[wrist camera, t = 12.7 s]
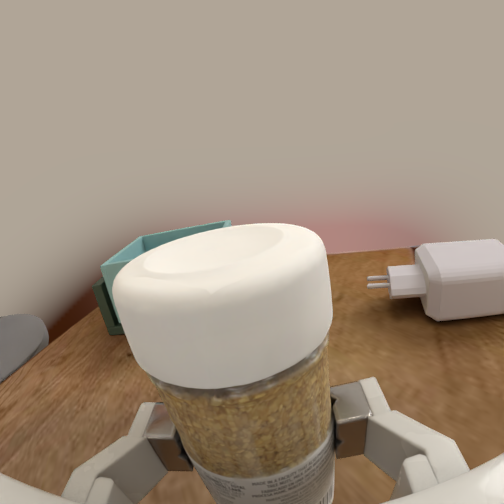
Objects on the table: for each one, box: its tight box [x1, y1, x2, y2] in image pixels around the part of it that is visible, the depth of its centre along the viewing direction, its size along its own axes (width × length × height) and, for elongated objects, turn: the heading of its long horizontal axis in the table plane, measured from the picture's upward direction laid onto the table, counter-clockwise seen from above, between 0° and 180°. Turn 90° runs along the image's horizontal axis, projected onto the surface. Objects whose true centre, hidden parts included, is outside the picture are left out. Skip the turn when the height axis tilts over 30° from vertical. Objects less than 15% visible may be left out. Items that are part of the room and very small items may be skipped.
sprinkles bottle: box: [112, 223, 335, 504], centre depth 8 cm, size 5×5×13 cm
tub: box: [100, 220, 231, 323], centre depth 34 cm, size 13×16×7 cm
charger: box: [367, 239, 504, 321], centre depth 26 cm, size 5×9×15 cm
